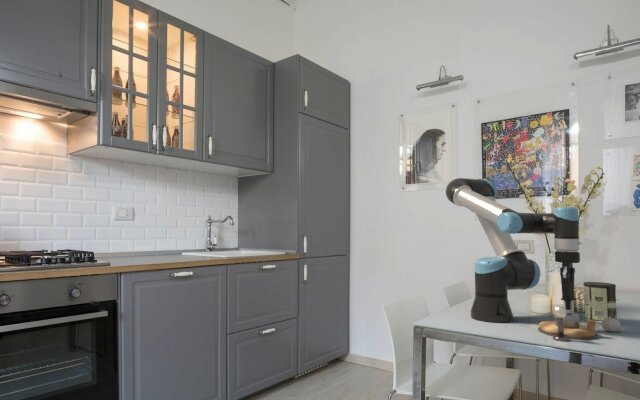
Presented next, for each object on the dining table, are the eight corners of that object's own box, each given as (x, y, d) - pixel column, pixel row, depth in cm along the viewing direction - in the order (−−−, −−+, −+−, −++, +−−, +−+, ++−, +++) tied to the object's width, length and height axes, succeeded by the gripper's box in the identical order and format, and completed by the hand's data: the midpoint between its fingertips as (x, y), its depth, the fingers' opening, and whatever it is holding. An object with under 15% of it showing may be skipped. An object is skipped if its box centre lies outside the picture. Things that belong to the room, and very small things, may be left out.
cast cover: (553, 326, 138) (553, 309, 138) (557, 322, 143) (556, 306, 144) (577, 329, 133) (577, 312, 134) (580, 326, 139) (580, 309, 139)
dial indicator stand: (551, 339, 129) (550, 306, 130) (555, 335, 135) (555, 303, 135) (567, 342, 126) (567, 308, 127) (571, 337, 132) (570, 305, 132)
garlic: (612, 333, 137) (611, 318, 138) (597, 330, 142) (596, 314, 143) (625, 332, 139) (625, 317, 139) (610, 328, 144) (610, 313, 144)
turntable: (534, 332, 137) (534, 317, 137) (544, 323, 149) (544, 310, 149) (592, 340, 127) (591, 325, 127) (597, 331, 139) (597, 316, 139)
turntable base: (532, 333, 137) (532, 332, 137) (543, 324, 150) (543, 323, 150) (594, 342, 126) (594, 341, 126) (599, 332, 139) (599, 331, 139)
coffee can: (609, 318, 161) (607, 282, 162) (622, 324, 151) (621, 285, 152) (579, 317, 163) (578, 281, 164) (591, 323, 153) (590, 284, 154)
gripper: (576, 252, 137) (578, 324, 135) (582, 250, 147) (584, 318, 145) (551, 251, 141) (552, 320, 140) (558, 249, 151) (560, 314, 150)
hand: (568, 319), depth 142 cm, fingers closed
